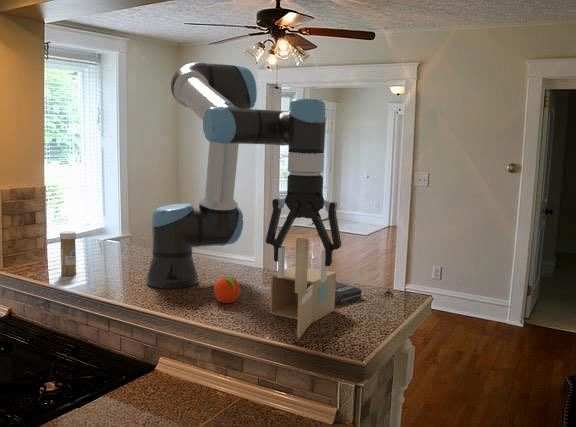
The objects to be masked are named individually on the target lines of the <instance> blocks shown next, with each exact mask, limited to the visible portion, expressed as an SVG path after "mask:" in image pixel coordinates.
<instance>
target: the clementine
mask: <svg viewBox="0 0 576 427" xmlns="http://www.w3.org/2000/svg"><path fill="white" fill-rule="evenodd" d="M240 287H241V286H240V284H239V281H237V280H236V279H235V278H234V277H233V276H232V277H231V276H228V275H227V276H223V277H221V278H220V279H218V280H217V281H216V282H215V284H214V287H213V294H214V297H215V298H216V299H217V300H218V301H219V302H221V303H224V304H230V303H233V302H235V301H236V300H237V299H238V298H239V295H240V293H241V288H240Z"/></svg>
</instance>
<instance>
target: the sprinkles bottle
mask: <svg viewBox="0 0 576 427" xmlns="http://www.w3.org/2000/svg"><path fill="white" fill-rule="evenodd" d="M76 238H77V234H76V231H72V230H71V231H70V230H67V231H60V232H59V240H60V267H61V269H60V270H61V272H60V275H61V276H63V277H65V276H66V277H70V276H75V275H76V274H77V254H76Z"/></svg>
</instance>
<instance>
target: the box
mask: <svg viewBox="0 0 576 427" xmlns="http://www.w3.org/2000/svg"><path fill="white" fill-rule="evenodd" d="M359 298H360V299H362V288H359V287H355V286H352V285H349V284H345V283H341V282H338V281H336V283H335V306H338V305H341V304H346V303H348V302H352V300H353V301H355V300H360V299H359ZM345 302H346V303H345Z"/></svg>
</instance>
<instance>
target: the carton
mask: <svg viewBox="0 0 576 427" xmlns="http://www.w3.org/2000/svg"><path fill="white" fill-rule="evenodd" d="M295 268H296V265H293V266H291V267H289V268H285V272H284V276H283V277H282V278H278V271H277V272H274V273H272V274H270V299H269V301H270V305H269V310H270V311H269V313H270V314H271V315H275V316H280V317H284V318H289V319H292V320H297V321H298V293H295ZM336 275H337V273H336V271H329V270H327V279H326V281H325V282H321V269H317V268H310V267H308V270H307V289H308V288H309V287H310V286H311V285H313V307H312V323H311V324H313V323H315V322H316V321H318V320H320V319H322V318H324V317H325V316H327V315H328V314H330V313H333V312H334V311H335V306H336V305H335V283H336V282H337V281H336V279H337V278H336V277H337V276H336Z"/></svg>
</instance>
